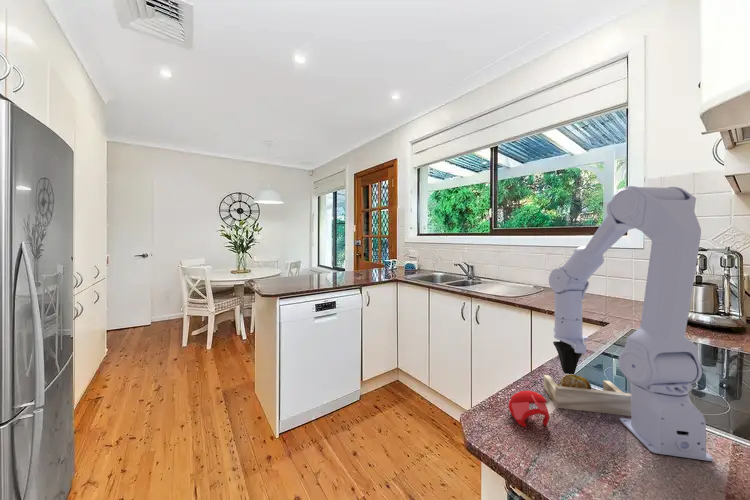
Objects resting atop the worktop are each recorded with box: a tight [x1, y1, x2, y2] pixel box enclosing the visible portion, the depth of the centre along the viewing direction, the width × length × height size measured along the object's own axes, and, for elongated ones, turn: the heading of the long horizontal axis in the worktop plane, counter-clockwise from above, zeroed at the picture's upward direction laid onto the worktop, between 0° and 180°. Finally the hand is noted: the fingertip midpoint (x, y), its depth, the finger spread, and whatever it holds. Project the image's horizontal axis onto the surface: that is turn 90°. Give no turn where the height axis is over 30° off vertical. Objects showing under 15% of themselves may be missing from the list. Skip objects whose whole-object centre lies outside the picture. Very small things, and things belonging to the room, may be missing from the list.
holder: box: [543, 374, 631, 417], centre depth 63 cm, size 9×13×4 cm
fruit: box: [556, 374, 592, 389], centre depth 67 cm, size 8×8×4 cm
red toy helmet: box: [508, 390, 550, 428], centre depth 56 cm, size 8×6×6 cm
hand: (568, 372), depth 72 cm, fingers closed
